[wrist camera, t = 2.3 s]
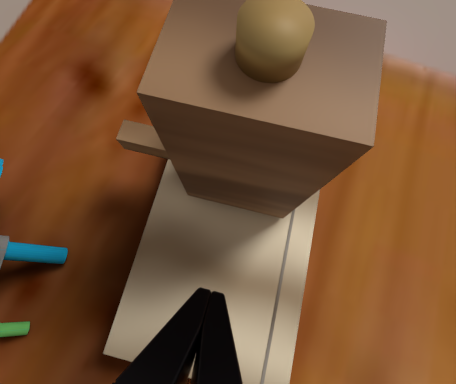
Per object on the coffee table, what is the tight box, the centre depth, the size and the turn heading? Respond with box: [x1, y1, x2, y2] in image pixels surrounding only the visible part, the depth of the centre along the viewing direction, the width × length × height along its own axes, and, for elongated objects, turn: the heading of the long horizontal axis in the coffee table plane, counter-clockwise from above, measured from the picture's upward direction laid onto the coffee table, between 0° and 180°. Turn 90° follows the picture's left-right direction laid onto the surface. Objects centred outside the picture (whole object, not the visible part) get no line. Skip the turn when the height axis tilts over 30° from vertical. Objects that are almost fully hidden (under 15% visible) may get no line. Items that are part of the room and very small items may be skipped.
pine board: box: [103, 159, 320, 384], centre depth 18 cm, size 23×10×2 cm, turn 166°
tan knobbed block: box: [116, 0, 387, 218], centre depth 11 cm, size 4×11×11 cm, turn 76°
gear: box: [0, 159, 68, 337], centre depth 15 cm, size 11×6×10 cm
